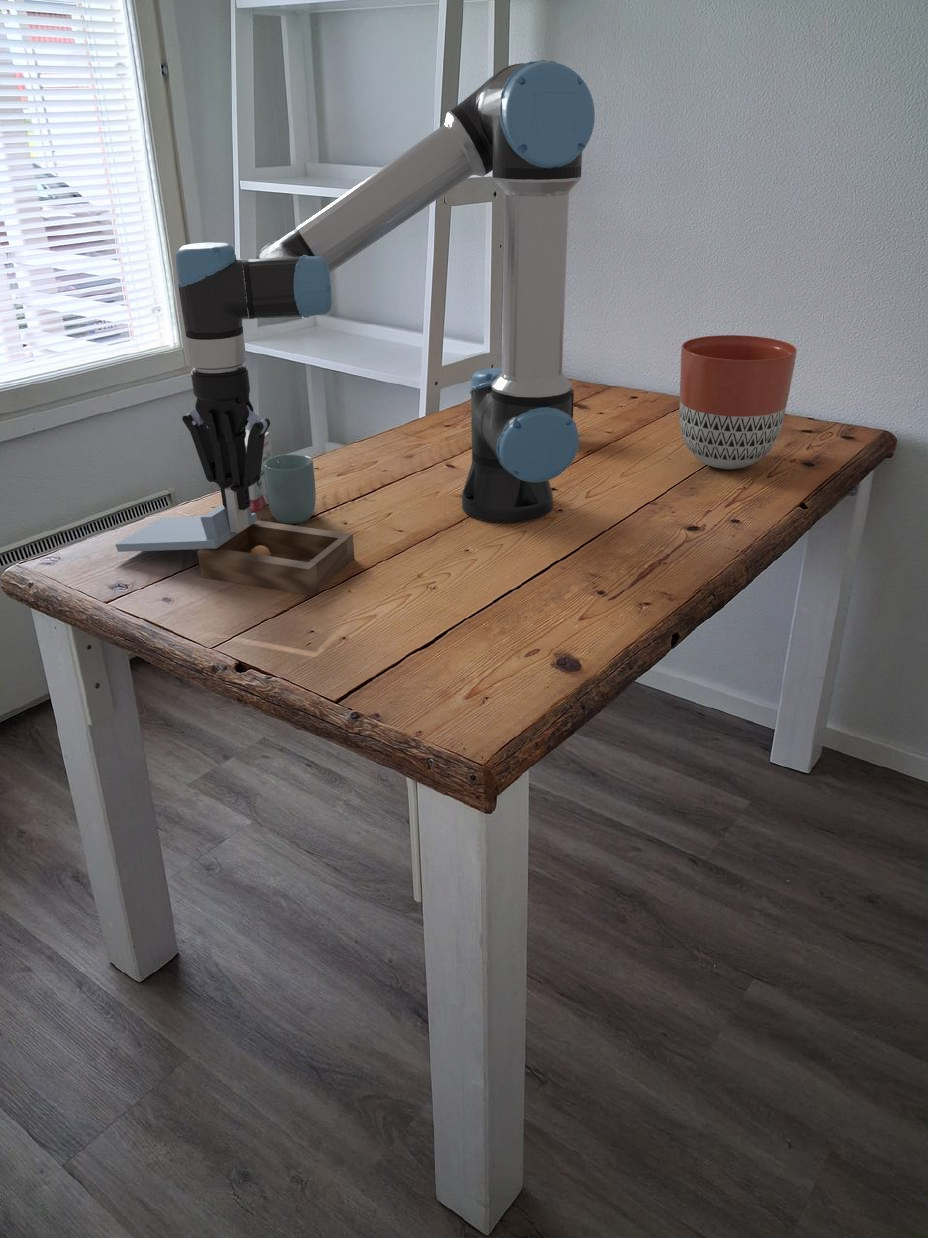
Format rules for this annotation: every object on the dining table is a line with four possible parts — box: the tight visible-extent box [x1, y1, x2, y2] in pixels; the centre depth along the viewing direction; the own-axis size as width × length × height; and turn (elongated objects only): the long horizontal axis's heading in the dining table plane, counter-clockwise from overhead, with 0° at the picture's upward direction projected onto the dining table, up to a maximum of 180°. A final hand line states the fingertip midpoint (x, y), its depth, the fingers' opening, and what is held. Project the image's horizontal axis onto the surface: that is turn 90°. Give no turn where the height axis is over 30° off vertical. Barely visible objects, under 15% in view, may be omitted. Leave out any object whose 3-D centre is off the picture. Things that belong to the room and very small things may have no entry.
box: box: [197, 519, 355, 597], centre depth 145 cm, size 18×13×4 cm
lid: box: [115, 503, 258, 553], centre depth 149 cm, size 18×11×4 cm, turn 69°
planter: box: [679, 334, 798, 470], centre depth 179 cm, size 20×20×21 cm
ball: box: [250, 545, 271, 556], centre depth 146 cm, size 3×3×3 cm
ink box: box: [245, 429, 273, 513], centre depth 168 cm, size 9×5×12 cm, turn 168°
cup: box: [263, 453, 317, 525], centre depth 161 cm, size 8×8×10 cm
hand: (239, 528), depth 145 cm, fingers closed
